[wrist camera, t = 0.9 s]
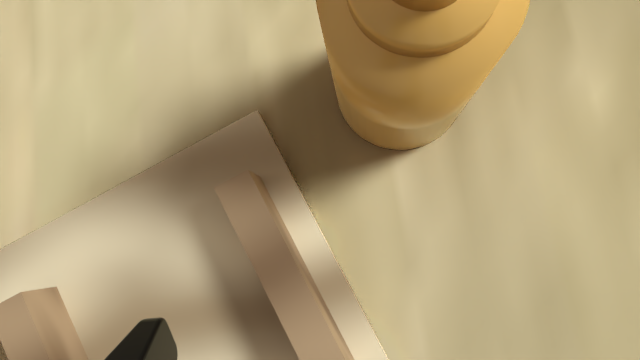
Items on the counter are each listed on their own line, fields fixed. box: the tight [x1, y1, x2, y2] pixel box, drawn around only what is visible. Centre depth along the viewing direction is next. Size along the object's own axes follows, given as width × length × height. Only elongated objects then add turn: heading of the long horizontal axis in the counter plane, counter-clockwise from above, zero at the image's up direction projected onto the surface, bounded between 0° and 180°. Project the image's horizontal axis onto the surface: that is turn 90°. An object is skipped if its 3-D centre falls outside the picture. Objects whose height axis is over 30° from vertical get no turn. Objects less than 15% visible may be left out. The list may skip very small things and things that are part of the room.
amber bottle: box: [316, 0, 530, 150], centre depth 17 cm, size 6×6×13 cm
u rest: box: [0, 110, 389, 360], centre depth 21 cm, size 14×14×3 cm
